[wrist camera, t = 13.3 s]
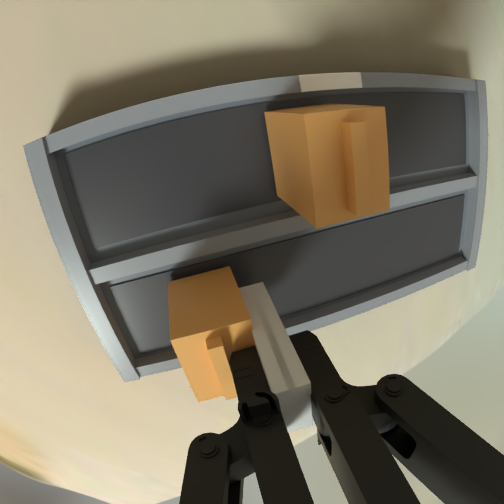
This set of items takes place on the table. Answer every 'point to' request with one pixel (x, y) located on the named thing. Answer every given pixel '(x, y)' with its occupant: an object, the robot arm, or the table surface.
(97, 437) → the table surface
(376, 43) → the table surface
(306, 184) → the tab
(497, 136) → the table surface
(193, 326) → the tab
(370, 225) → the switch bank
